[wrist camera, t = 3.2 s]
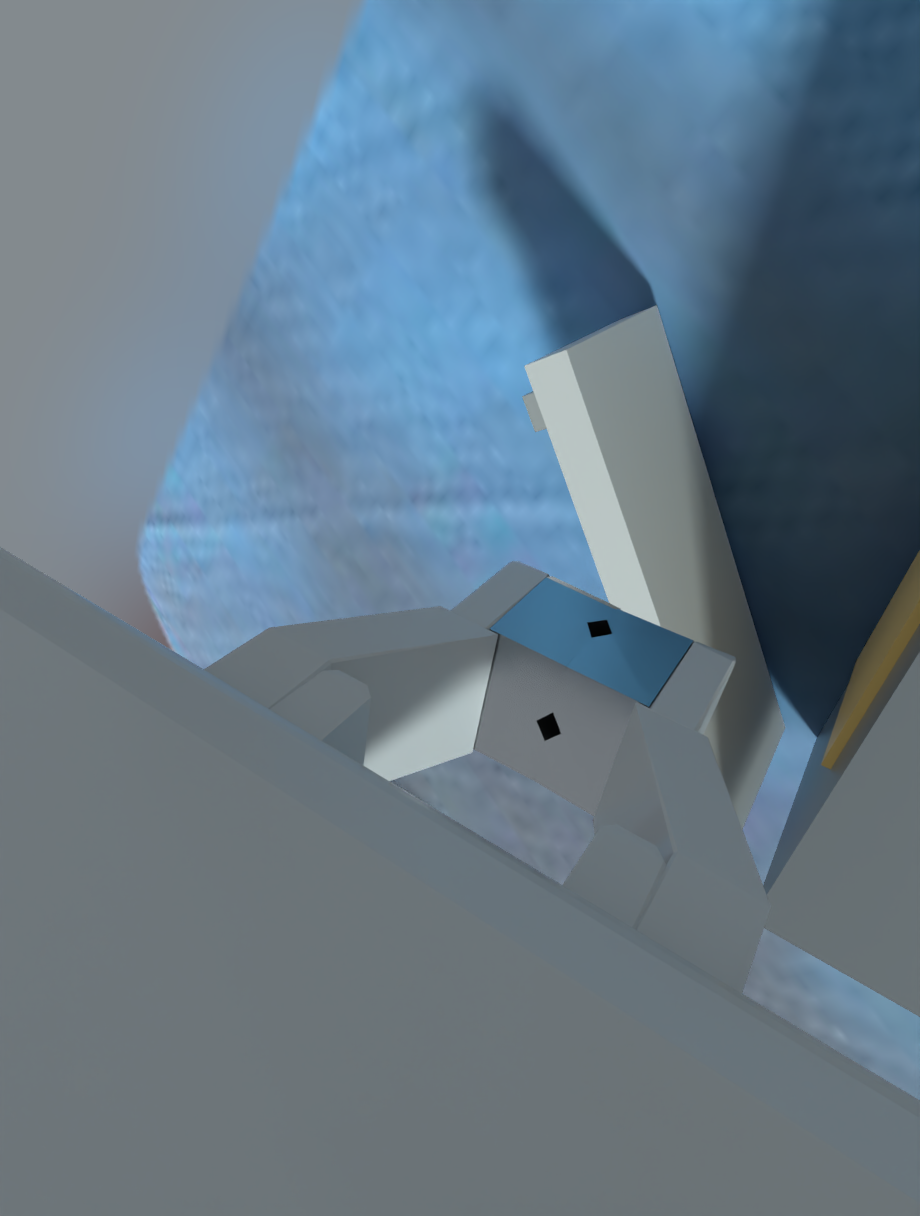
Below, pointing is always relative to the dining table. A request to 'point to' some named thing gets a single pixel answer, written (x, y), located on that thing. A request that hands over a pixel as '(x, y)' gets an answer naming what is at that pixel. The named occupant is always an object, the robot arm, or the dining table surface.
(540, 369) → the side door
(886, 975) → the block
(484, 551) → the dining table surface
